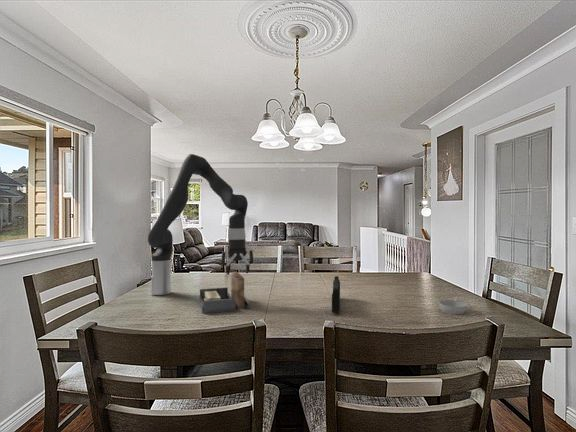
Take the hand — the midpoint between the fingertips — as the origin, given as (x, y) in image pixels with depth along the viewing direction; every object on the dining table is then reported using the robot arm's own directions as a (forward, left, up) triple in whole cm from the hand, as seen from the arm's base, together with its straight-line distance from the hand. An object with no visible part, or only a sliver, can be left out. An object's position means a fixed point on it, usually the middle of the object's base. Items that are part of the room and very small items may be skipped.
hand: (237, 273), depth 166 cm
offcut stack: (-11, 0, -14) cm, 18 cm away
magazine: (+41, -18, -14) cm, 47 cm away
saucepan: (+86, -39, -14) cm, 95 cm away
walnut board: (0, 0, -14) cm, 14 cm away
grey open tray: (-6, 0, -14) cm, 15 cm away
